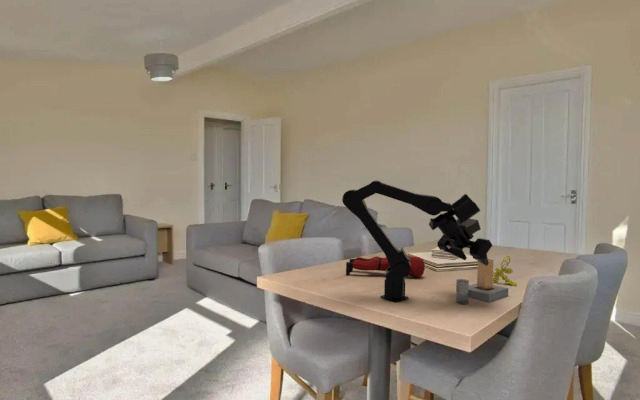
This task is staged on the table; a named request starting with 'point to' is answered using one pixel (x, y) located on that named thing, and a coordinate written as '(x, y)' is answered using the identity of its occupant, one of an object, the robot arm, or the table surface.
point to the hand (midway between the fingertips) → (476, 261)
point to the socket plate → (487, 293)
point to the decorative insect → (507, 270)
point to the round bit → (462, 291)
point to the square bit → (485, 276)
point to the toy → (384, 265)
